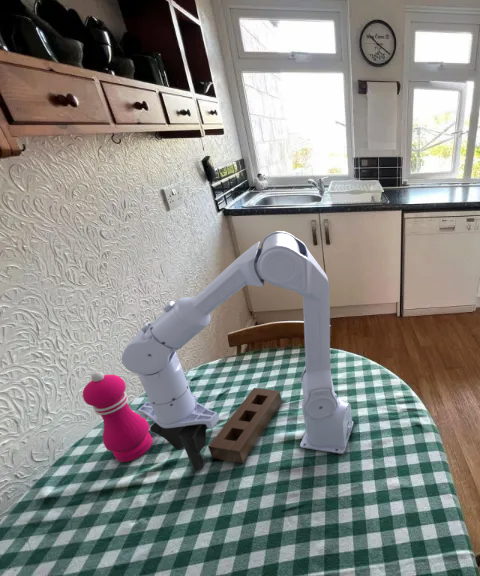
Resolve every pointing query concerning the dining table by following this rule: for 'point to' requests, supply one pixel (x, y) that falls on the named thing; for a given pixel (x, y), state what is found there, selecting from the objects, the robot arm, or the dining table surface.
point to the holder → (245, 426)
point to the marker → (193, 455)
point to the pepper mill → (117, 417)
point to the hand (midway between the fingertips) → (191, 446)
